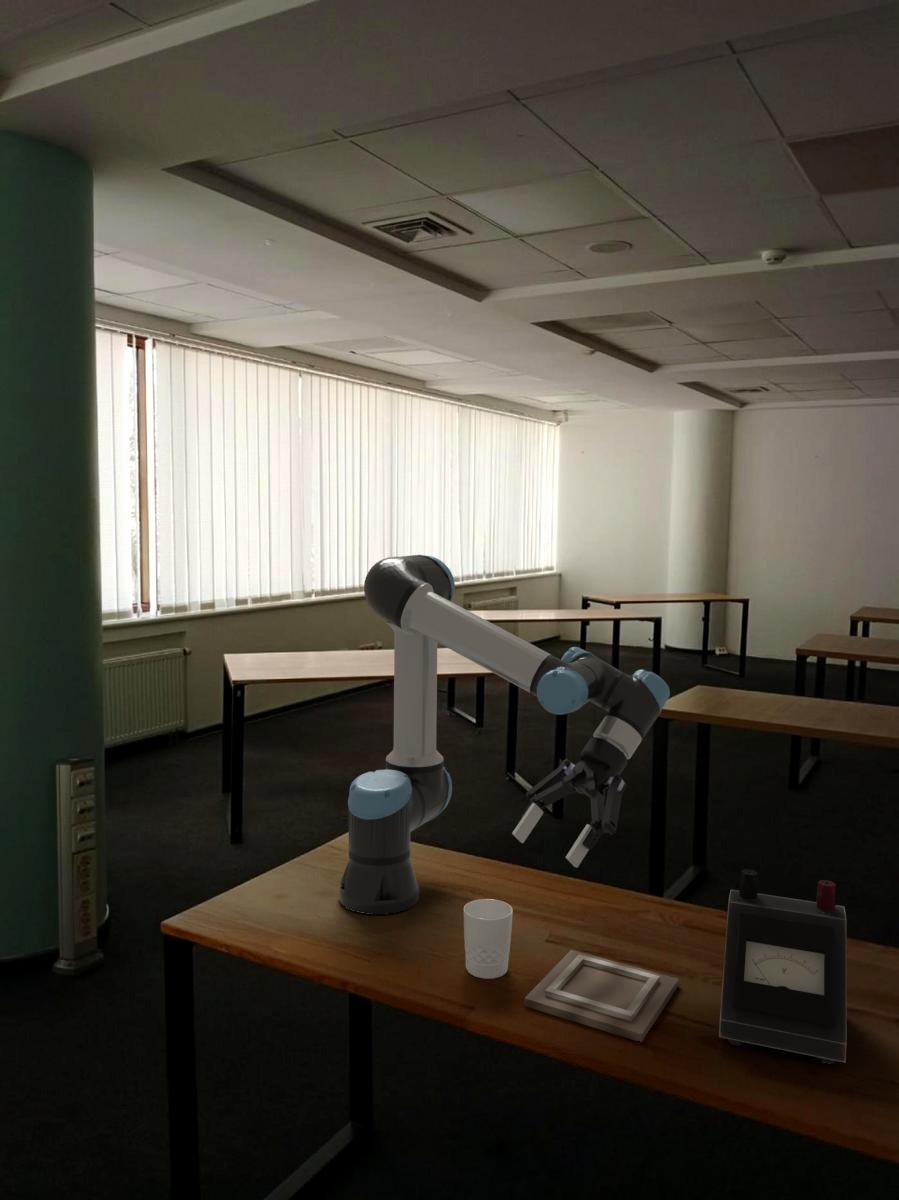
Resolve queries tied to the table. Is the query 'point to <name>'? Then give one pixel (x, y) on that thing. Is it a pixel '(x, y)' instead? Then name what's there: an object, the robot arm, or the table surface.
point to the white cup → (487, 937)
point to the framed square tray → (603, 994)
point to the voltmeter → (785, 972)
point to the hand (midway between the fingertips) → (543, 850)
